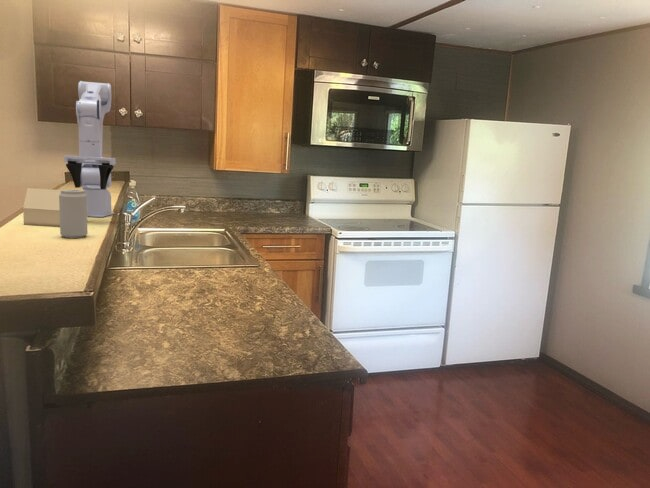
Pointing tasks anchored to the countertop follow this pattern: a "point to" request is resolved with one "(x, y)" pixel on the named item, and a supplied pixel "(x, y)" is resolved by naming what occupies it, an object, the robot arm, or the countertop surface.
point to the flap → (42, 199)
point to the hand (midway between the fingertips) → (90, 188)
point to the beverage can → (73, 213)
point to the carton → (41, 217)
